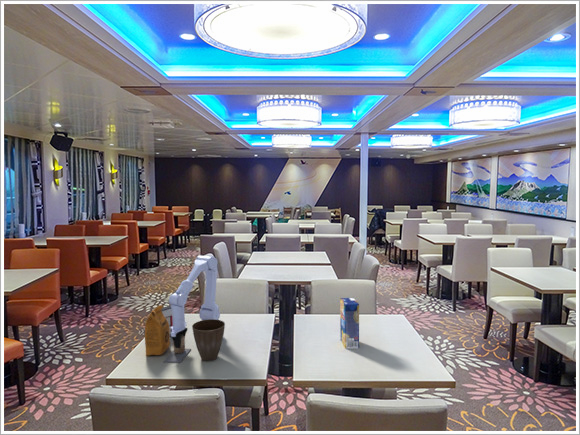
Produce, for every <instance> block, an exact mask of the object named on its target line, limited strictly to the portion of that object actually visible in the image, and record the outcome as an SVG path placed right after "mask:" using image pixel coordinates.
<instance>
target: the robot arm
mask: <svg viewBox="0 0 580 435" xmlns="http://www.w3.org/2000/svg"><path fill="white" fill-rule="evenodd" d="M201 272H205V273H206V277H205V278H206V279H205V295H204V302H203V304H201V306H200V310H199V318H200V319H201V321H202V320H208V319H216V320H220V317H221V313H220V306H219V305H218V304H217V303H216V296H217V295H216V293H217V280H218V277H217V276H218V259H217V258H216V257H215V256H208V255H201V254H200V255H197V256H196V258H195V260H194V266H193V267H192V268H191V270H190V273H189V274H188V276H187V277H186V279H185V280H183V281H181V283H180V285H179V286H178V288H177V289H176V291H175V292H174V293H172V294H171V295H170V296H169V299H168V303H169V306H171V308H172V322H173V326H172V327H170V329H172V332H171V334H170V335H169V337H170V338H171V339H172V342H173V341H174V344H175V348H180V346H181V338H182V336H184V338H186V334H187V332H188V329H189V328H188V327H187V321H186V320H185V319H186V318H185V305H186V303H187V302H188V298H189V295H190V293H191V290H193V288H194V282H195V280H197V278H198V276H200V274H201ZM174 344H173V345H174Z"/></svg>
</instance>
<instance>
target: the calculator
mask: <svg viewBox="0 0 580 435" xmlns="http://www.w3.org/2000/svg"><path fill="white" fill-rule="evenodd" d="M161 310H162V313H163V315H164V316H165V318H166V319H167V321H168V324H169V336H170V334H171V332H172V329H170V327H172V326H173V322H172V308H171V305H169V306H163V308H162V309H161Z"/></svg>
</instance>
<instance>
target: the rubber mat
mask: <svg viewBox="0 0 580 435" xmlns="http://www.w3.org/2000/svg"><path fill="white" fill-rule="evenodd" d="M191 351H192V349H191V348H185V350H184V351H183V353H174V349H173V350H172V351H171V352H170V353H169V354H168V355H167V357H165V359H163V363H173V364H174V363H175V364H181V363H182V361H184V359H185V358H186V357H187V356H188V354H189V353H190V352H191Z"/></svg>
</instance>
